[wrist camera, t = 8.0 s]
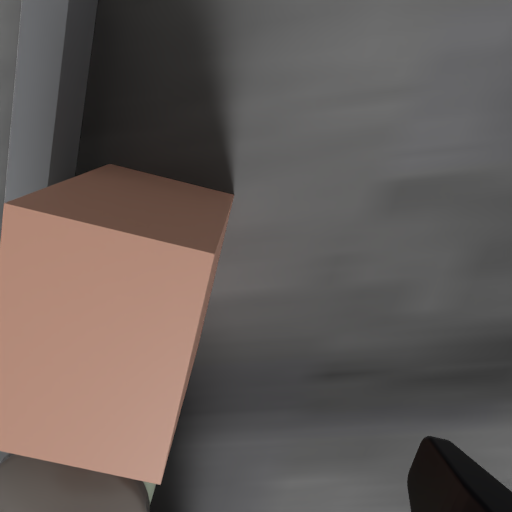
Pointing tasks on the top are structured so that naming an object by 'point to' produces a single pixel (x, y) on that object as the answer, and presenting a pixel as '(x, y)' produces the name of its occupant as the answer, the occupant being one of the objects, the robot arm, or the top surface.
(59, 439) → the tea box
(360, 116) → the top surface
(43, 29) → the rail
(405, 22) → the top surface
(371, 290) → the top surface
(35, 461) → the spice jar
